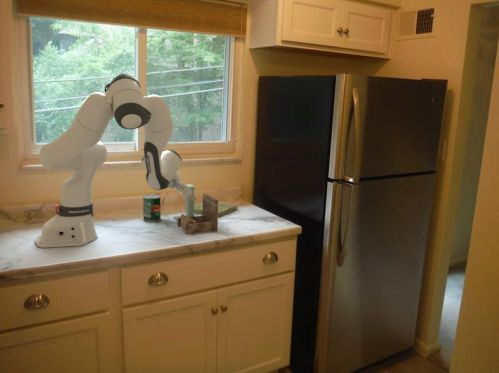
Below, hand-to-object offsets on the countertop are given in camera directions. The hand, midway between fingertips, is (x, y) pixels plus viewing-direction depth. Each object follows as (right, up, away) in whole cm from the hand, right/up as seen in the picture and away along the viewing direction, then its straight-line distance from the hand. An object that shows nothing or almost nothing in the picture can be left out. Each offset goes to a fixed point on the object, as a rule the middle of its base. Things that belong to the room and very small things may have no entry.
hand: (191, 197), depth 202 cm
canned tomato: (-18, -10, +1) cm, 21 cm away
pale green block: (-1, -10, +2) cm, 10 cm away
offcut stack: (+1, -14, -13) cm, 19 cm away
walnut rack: (+4, -13, -11) cm, 18 cm away
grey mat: (-1, -10, +2) cm, 11 cm away
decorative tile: (+8, -8, +20) cm, 23 cm away
